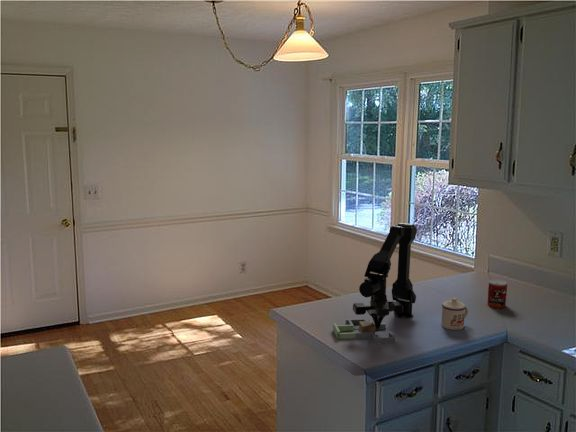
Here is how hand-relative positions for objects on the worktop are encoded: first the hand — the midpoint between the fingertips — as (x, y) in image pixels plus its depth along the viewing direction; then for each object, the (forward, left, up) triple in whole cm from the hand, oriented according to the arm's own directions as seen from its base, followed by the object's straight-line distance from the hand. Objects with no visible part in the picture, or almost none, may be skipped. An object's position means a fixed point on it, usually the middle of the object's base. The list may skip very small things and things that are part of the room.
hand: (377, 328), depth 211 cm
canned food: (-61, -25, -2) cm, 66 cm away
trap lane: (+6, 0, -2) cm, 6 cm away
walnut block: (+4, 0, -2) cm, 4 cm away
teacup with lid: (-33, -4, -2) cm, 34 cm away
